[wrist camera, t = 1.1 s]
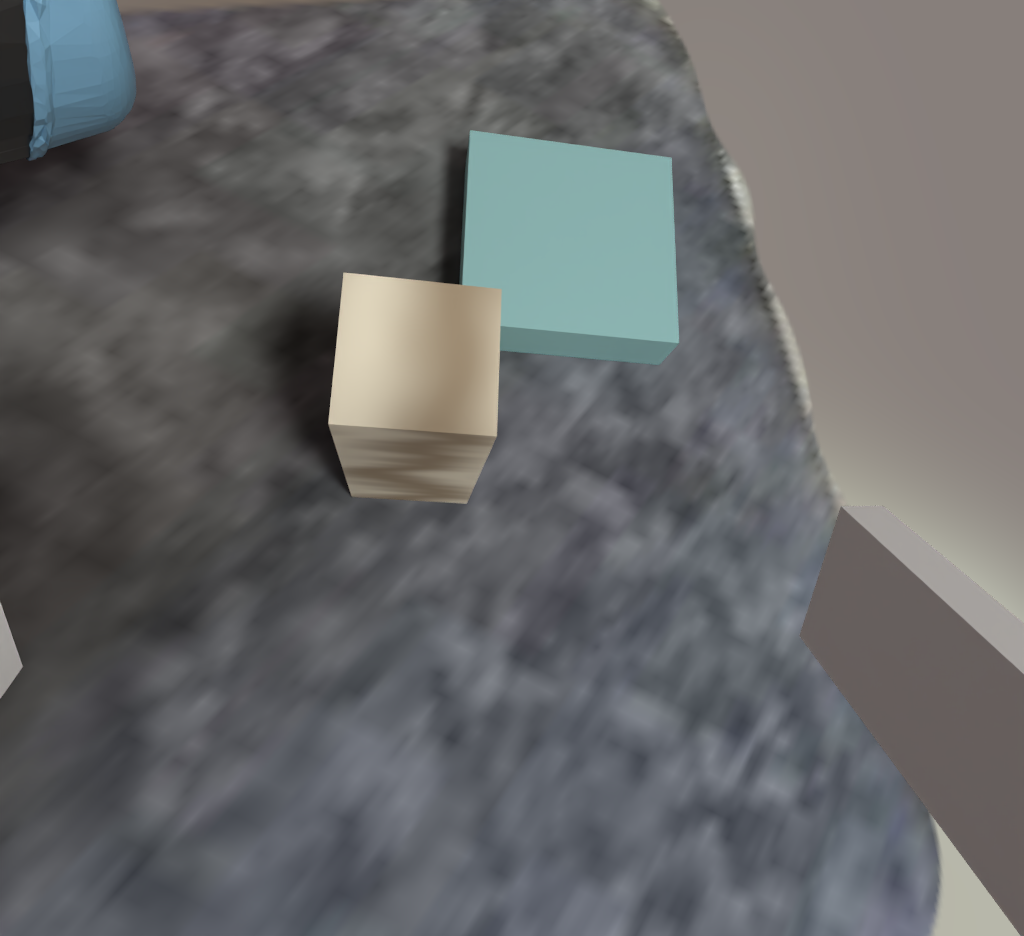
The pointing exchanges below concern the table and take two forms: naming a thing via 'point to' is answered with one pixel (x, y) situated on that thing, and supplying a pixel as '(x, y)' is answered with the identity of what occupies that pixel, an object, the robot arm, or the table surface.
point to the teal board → (572, 247)
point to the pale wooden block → (415, 387)
